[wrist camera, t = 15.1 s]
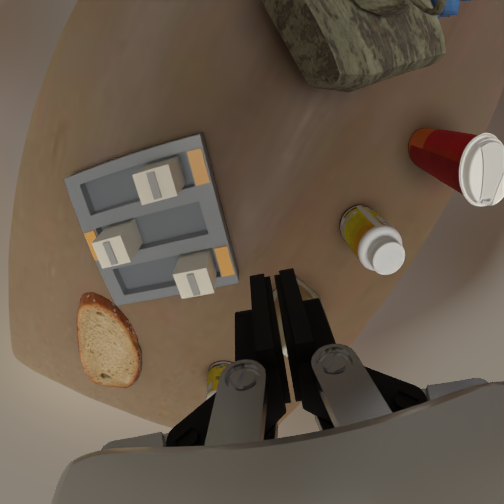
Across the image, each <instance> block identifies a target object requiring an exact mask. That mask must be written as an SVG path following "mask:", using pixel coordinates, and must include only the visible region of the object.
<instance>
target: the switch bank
mask: <svg viewBox="0 0 504 504" xmlns="http://www.w3.org/2000/svg"><path fill="white" fill-rule="evenodd" d="M177 155H179V159H180V163H181V166H182V170H183V174H184V177H185V181H186V183H185V185H184V187H183V188H182V190H181V191H180V193H179V194H178V196H175V197H171V198H168V199H164V200H160V201H156V202H153V203H149V204H145V205H142V204H141V201H140V198H139V195H138V192H137V189H136V186H135V183H134V179H133V176H132V175H133V174H134V173H135V172H137V171H138V170H139V169H141V168H142V167H144V166H145V165H146V164H150V163H153V162H156V161H160V160H163V159H167V158H170V157H174V156H177ZM64 181H65V184H66V187H67V190H68V193H69V196H70V199H71V201H72V204H73V207H74V210H75V212H76V215H77V218H78V220H79V223H80V225H81V228H82V230H83V233H84V235H85V238H86V240H87V243H88V245H89V248H90V250H91V252H92V255H93V257H94V259H95V261H96V264H97V266H98V268H99V270H100V273H101V275H102V277H103V279H104V281H105V283H106V286H107V288H108V290H109V292H110V294H111V296H112V298H113V300H114V302H115V304H116V306H117V305H123V304H128V303H134V302H140V301H145V300H151V299H157V298H162V297H168V296H173V295H178V294H180V293H179V290H178V288H177V285H176V282H175V280H174V277H173V272H174V269H175V266H176V263H177V261H178V258H179V255H180V254H185V253H189V252H194V251H199V250H203V249H208V248H211V251H212V254H213V257H214V261H215V264H216V267H217V275H216V283H215V287H221V286H226V285H231V284H236V283H239V270H238V267H237V263H236V259H235V256H234V252H233V248H232V244H231V241H230V237H229V233H228V229H227V225H226V222H225V218H224V214H223V210H222V206H221V203H220V199H219V195H218V191H217V187H216V183H215V179H214V176H213V172H212V168H211V164H210V160H209V156H208V152H207V148H206V144H205V140H204V136H203V132H202V133H198V134H194V135H190V136H187V137H183V138H179V139H176V140H172V141H169V142H165V143H162V144H159V145H155V146H152V147H149V148H146V149H142V150H139V151H136V152H133V153H130V154H127V155H124V156H121V157H118V158H115V159H112V160H110V161H107V162H104V163H101V164H99V165H96V166H93V167H90V168H88V169H85V170H83V171H80V172H77V173H75V174H73V175H71V176H69V177H67V178H65V179H64ZM132 218H135V220H136V223H137V226H138V229H139V231H140V234H141V237H142V240H143V243H142V245H141V246H140V248H139V250H138V251H137V253H136V255H135V256H134V258H133V260H132V261H131V262H130V263H125V264H121V265H117V266H112V267H108V268H103V269H102V267H101V265H100V262H99V260H98V258H97V255H96V253H95V251H94V248H93V246H92V244H91V243H92V242H93V241H94V240H95V239H96V238H97V237H98V235H99V234H100V233H101V232H102V231H103V230H104V229H105V228H106V227H107V226H108V225H111V224H114V223H118V222H121V221H125V220H128V219H132Z"/></svg>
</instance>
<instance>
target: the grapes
mask: <svg viewBox="0 0 504 504" xmlns="http://www.w3.org/2000/svg"><path fill="white" fill-rule="evenodd" d="M430 1H431V4H432V6H433V8H434V7H435V5H436V0H430ZM462 1H471V0H462ZM458 10H459V0H446V6H445V7H444V9H443V11H442V13H440V14H439V15H437V17H438V20H439V17H450V15H457V14H458Z"/></svg>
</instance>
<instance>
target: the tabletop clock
mask: <svg viewBox="0 0 504 504" xmlns="http://www.w3.org/2000/svg"><path fill="white" fill-rule="evenodd" d="M261 1H262V3H263V5H264V7H265V9H266V10H267V12H268V14H269V16H270V17H271V19H272V21H273V23H274V24H275V26H276V28H277V30H278V32H279V33H280V35H281V37H282V39H283V41H284V43H285V44H286V46H287V48H288V50H289V52H290V53H291V55H292V57H293V59H294V61H295V63H296V64H297V66H298V68H299V70H300V72H301V73H302V75H303V77H304V78H305V80H306V82H307V83H308V84H309V85H311V86H313V87H315V88H323V89H330V90H336V91H344V92H350V91H353V90H356V89H360V88H362V87H365V86H368V85H371V84H374V83H376V82H379V81H382V80H385V79H388V78H391V77H394V76H397V75H400V74H403V73H406V72H410V71H413V70H416V69H419V68H423V67H426V66H430V65H432V64H434V63H436V62H438V61H439V60H440V59H441V58H442V57H443V56H444V55H445V54H446V47H445V41H444V36H443V32H442V28H441V25H440V23H439V20H438V17H437V15H439V14H440V13H442V11H443V9H444V7H445V6H446V0H436V5H435V7H434V8H433V6H432V4H431V1H430V0H261Z"/></svg>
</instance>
